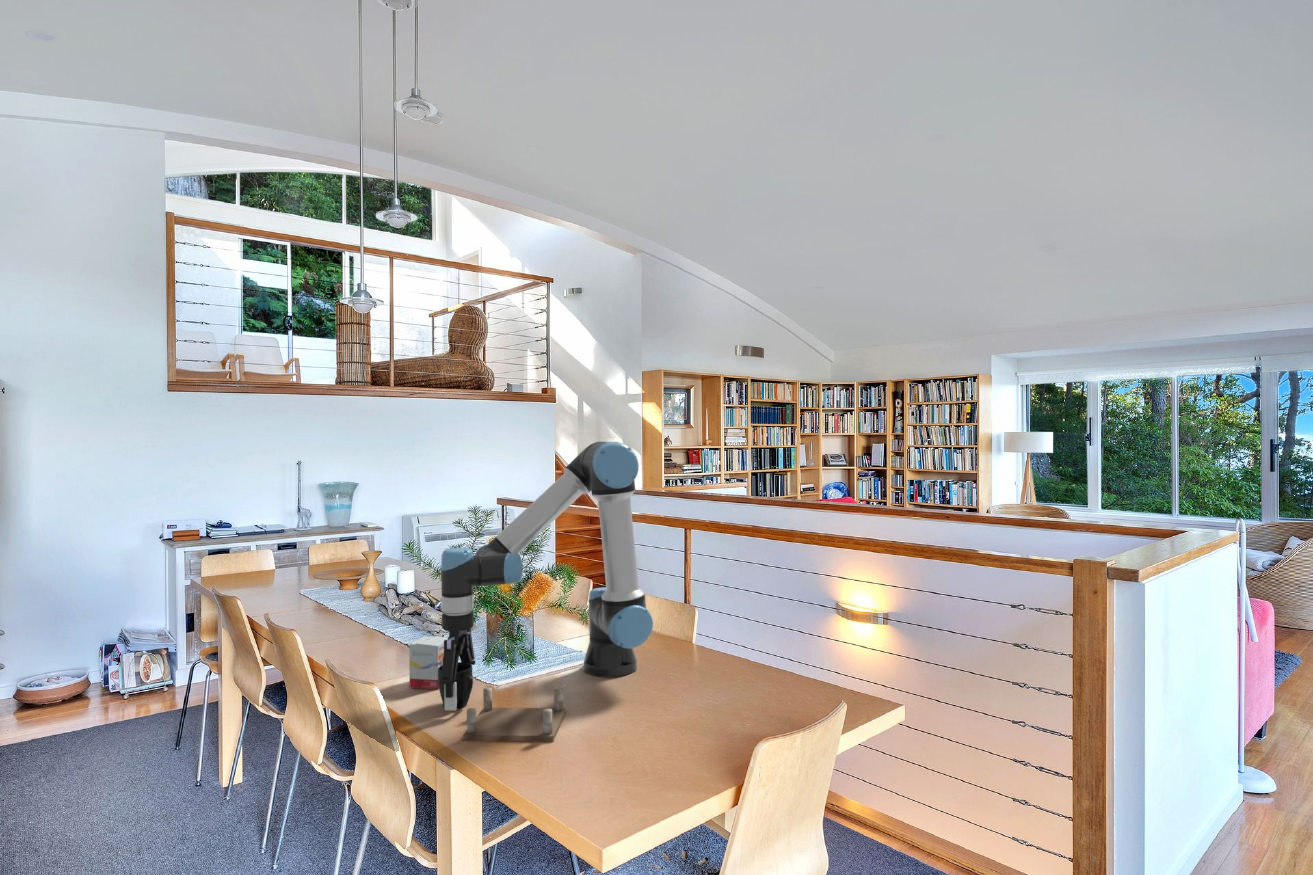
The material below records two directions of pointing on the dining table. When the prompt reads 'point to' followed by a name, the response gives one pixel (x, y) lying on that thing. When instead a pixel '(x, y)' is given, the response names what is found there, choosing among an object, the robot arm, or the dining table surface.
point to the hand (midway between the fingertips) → (458, 700)
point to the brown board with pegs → (514, 721)
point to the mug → (460, 683)
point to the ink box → (426, 661)
